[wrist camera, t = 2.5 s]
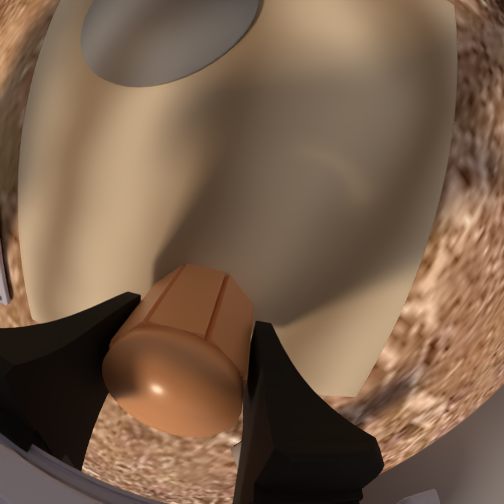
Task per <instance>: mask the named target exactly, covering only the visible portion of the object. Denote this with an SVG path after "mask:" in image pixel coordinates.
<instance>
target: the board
mask: <svg viewBox="0 0 504 504" xmlns="http://www.w3.org/2000/svg"><path fill="white" fill-rule="evenodd" d="M457 65H458V58H457V31H456V18H455V9H454V5H453V4H451V3H450V2H448V1H447V0H60V2H59V4H58V6H57V9H56V11H55V13H54V16H53V18H52V20H51V23H50V25H49V28H48V30H47V33H46V36H45V39H44V41H43V44H42V47H41V50H40V53H39V57H38V60H37V63H36V67H35V70H34V74H33V78H32V82H31V86H30V90H29V95H28V100H27V105H26V110H25V116H24V122H23V129H22V136H21V145H20V156H19V170H18V225H19V239H20V250H21V259H22V267H23V274H24V280H25V286H26V292H27V297H28V302H29V307H30V311H31V316H32V319H33V320H35V321H37V322H39V323H41V324H42V323H47V322H51V321H54V320H58V319H61V318H64V317H68V316H70V315H73V314H76V313H78V312H81V311H83V310H86V309H88V308H91V307H93V306H95V305H98V304H100V303H102V302H104V301H106V300H109V299H111V298H113V297H115V296H118V295H120V294H122V293H125V292H132V293H136V294H140V295H141V301H142V299H143V298H144V297H145V296H146V294H147V293H148V292H149V291H150V289H151V288H152V287H153V286H154V284H155V283H156V282H158V281H159V280H161V279H162V278H164V277H165V276H167V275H168V274H169V273H171V272H172V271H174V270H175V269H177V268H178V267H180V266H181V265H183V266H184V267H185V266H186V265H187V264H191V265H196V266H200V267H205V268H210V269H215V270H220V271H225V272H226V273H225V277H227V276H228V275H231V276H232V278H233V279H234V280H235V282H236V283H237V284H238V286H239V287H240V288H241V290H242V291H243V292H244V294H245V295H246V296H247V297H248V299H249V300H250V301H251V303H252V308H253V319H252V331H251V338H252V334H253V330H254V326H255V322H256V320H257V321H262V322H268V323H271V324H272V325H273V327H274V329H275V331H276V334H277V336H278V338H279V340H280V342H281V344H282V346H283V348H284V349H285V351H286V353H287V355H288V356H289V358H290V360H291V361H292V363H293V364H294V366H295V367H296V369H297V370H298V372H299V373H300V375H301V376H302V377H303V379H304V380H305V381H306V382H307V383H308V385H309V386H310V387H311V388H312V389H313V390H314V391H315V392H316V393H317V395H327V396H347V397H356V395H357V394H358V392H359V391H360V389H361V387H362V386H363V384H364V382H365V381H366V379H367V377H368V375H369V374H370V372H371V370H372V368H373V366H374V365H375V363H376V361H377V359H378V357H379V355H380V354H381V352H382V350H383V348H384V346H385V344H386V342H387V340H388V338H389V336H390V334H391V332H392V330H393V328H394V326H395V323H396V321H397V319H398V317H399V315H400V313H401V310H402V308H403V306H404V303H405V301H406V299H407V296H408V294H409V291H410V289H411V287H412V284H413V281H414V279H415V276H416V274H417V271H418V268H419V266H420V263H421V260H422V257H423V254H424V251H425V248H426V245H427V242H428V239H429V236H430V233H431V229H432V226H433V223H434V219H435V216H436V212H437V208H438V204H439V200H440V196H441V192H442V188H443V184H444V179H445V174H446V169H447V164H448V159H449V153H450V147H451V141H452V134H453V126H454V117H455V107H456V93H457Z"/></svg>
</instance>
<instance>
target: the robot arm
mask: <svg viewBox="0 0 504 504" xmlns="http://www.w3.org/2000/svg"><path fill="white" fill-rule="evenodd" d="M0 302H1V303H3V304H4V305H8V304H9V303H10V296H9V292H8V287H7V282H6V276H5V270H4V264H3V257H2V249H1V240H0ZM140 302H141V295H140V294H136V293H132V292H125V293H122V294H120V295H118V296H115V297H113V298H111V299H109V300H106V301H104V302H102V303H100V304H98V305H95V306H93V307H91V308H88V309H86V310H83V311H81V312H78V313H76V314H73V315H70V316H68V317H64V318H61V319H58V320H54V321H51V322H47V323H42V324H36V325H31V326H25V327H16V328H0V504H167V503H164V502H160V501H156V500H153V499H150V498H146V497H143V496H140V495H137V494H134V493H131V492H128V491H126V490H123V489H120V488H118V487H115V486H113V485H110V484H108V483H105V482H103V481H101V480H98V479H96V478H94V477H92V476H89V475H87V474H85V473H83V472H81V470H82V466H83V462H84V458H85V454H86V450H87V447H88V444H89V440H90V437H91V434H92V431H93V428H94V426H95V423H96V420H97V418H98V415H99V413H100V410H101V408H102V406H103V403H104V401H105V399H106V397H107V395H108V393H109V391H108V389H107V387H106V385H105V382H104V379H103V375H102V364H103V360H104V358H105V356H106V354H107V353H108V351H109V344H110V343H111V340H112V338H113V337H114V336H115V334H116V333H117V332H118V330H119V329H120V328H121V327H122V325H123V324H124V323H125V321H126V320H127V319H128V317H129V316H130V315H131V313H132V312H133V311H134V310H135V308H136V307H137V306H138V305H139V303H140ZM383 467H384V462H383V459H382V454H381V451H380V448H379V445H378V443H377V440H376V438H375V437H373V436H372V435H370V434H368V433H367V432H365V431H363V430H362V429H360V428H358V427H357V426H355V425H353V424H352V423H350V422H349V421H348V420H346V419H345V418H344V417H342V416H341V415H340V414H338V413H337V412H336V411H335V410H334V409H332V408H331V407H330V406H329V405H328V404H327V403H326V402H325V401H324V400H323V399H322V398H320V397H319V396H318V395H317V393H316V392H315V391H314V390H313V389H312V388H311V387H310V386H309V385H308V383H307V382H306V381H305V380H304V379H303V377H302V376H301V375H300V373H299V372H298V370H297V369H296V367H295V366H294V364H293V363H292V361H291V360H290V358H289V356H288V355H287V353H286V351H285V349H284V348H283V346H282V344H281V342H280V340H279V338H278V336H277V334H276V331H275V329H274V327H273V325H272V324H271V323H268V322H262V321H257V320H256V322H255V326H254V330H253V334H252V338H251V343H250V354H249V366H248V377H247V383H246V386H245V390H244V394H243V433H242V442H241V450H240V457H239V465H238V472H237V479H236V485H235V492H234V498H233V504H359V501H360V500H362V499H363V494H362V488H364V487H365V486H366V485H367V484H368V483H370V482H371V481H372V480H373V479H375V478H376V477H377V476H378V475H379V474H380V473H381V471H382V470H383ZM396 504H440V501H439V498H438V496H437V492H436V489H432V490H429V491H426V492H422V493H419V494H415V495H412V496H409V497H407V498H405V499H403V500H401V501H399V502H398V503H396Z"/></svg>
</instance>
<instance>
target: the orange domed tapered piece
mask: <svg viewBox="0 0 504 504" xmlns="http://www.w3.org/2000/svg"><path fill="white" fill-rule="evenodd" d="M225 273H226V272H225V271H220V270H215V269H210V268H205V267H200V266H196V265H191V264H187V265H186V266H185V267H184V266H183V265H181V266H180V267H178V268H177V269H175V270H174V271H172V272H171V273H169V274H168V275H167V276H165V277H164V278H162V279H161V280H159V281H158V282H156V283H155V284H154V286H153V287H152V288H151V289H150V291H149V292H148V293H147V294H146V296H145V297H144V298H143V299H142V301H141V302H140V303H139V305H138V306H137V307H136V308H135V310H134V311H133V312H132V313H131V315H130V316H129V317H128V319H127V320H126V321H125V323H124V324H123V325H122V327H121V328H120V329H119V330H118V332H117V333H116V334H115V336H114V337H113V338H112V340H111V343H110V344H109V351H108V353H107V354H106V356H105V358H104V360H103V364H102V375H103V379H104V382H105V385H106V387H107V389H108V391H109V392H110V394H111V395H112V397H113V398H114V399H115V401H116V402H117V403H118V404H119V405H120V406H121V407H122V408H123V409H124V410H125V411H126V412H128V413H129V414H130V415H131V416H133V417H134V418H136V419H137V420H139V421H141V422H142V423H144V424H146V425H148V426H150V427H152V428H154V429H157V430H160V431H162V432H166V433H169V434H173V435H178V436H185V437H205V436H211V435H215V434H218V433H221V432H223V431H225V430H227V429H229V428H230V427H232V426H233V425H234V424H235V423H236V421H237V420H238V419H239V417H240V414H241V410H242V402H243V394H244V390H245V386H246V383H247V377H248V366H249V354H250V343H251V331H252V319H253V308H252V303H251V301H250V300H249V299H248V297H247V296H246V295H245V294H244V292H243V291H242V290H241V288H240V287H239V286H238V284H237V283H236V282H235V280H234V279H233V278H232V276H231V275H228V276H227V277H225Z"/></svg>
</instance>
